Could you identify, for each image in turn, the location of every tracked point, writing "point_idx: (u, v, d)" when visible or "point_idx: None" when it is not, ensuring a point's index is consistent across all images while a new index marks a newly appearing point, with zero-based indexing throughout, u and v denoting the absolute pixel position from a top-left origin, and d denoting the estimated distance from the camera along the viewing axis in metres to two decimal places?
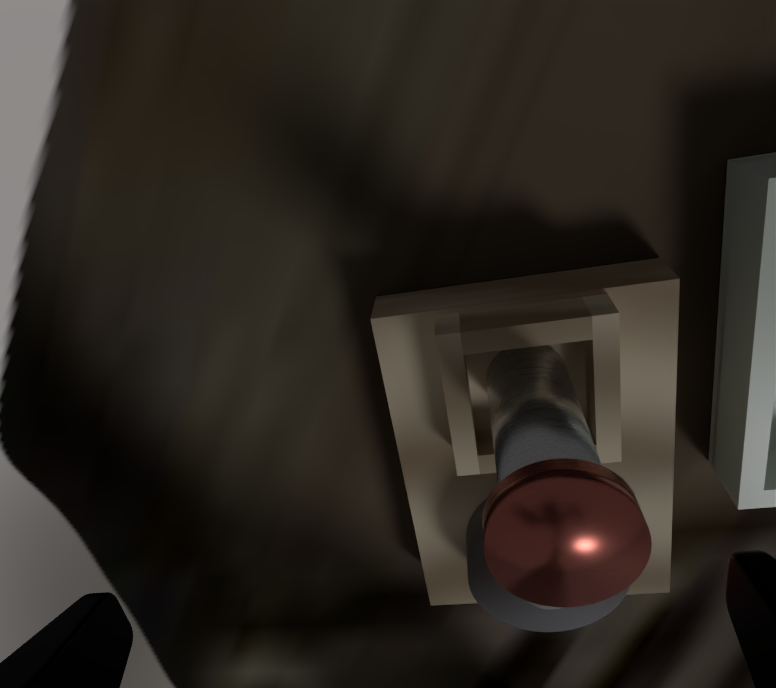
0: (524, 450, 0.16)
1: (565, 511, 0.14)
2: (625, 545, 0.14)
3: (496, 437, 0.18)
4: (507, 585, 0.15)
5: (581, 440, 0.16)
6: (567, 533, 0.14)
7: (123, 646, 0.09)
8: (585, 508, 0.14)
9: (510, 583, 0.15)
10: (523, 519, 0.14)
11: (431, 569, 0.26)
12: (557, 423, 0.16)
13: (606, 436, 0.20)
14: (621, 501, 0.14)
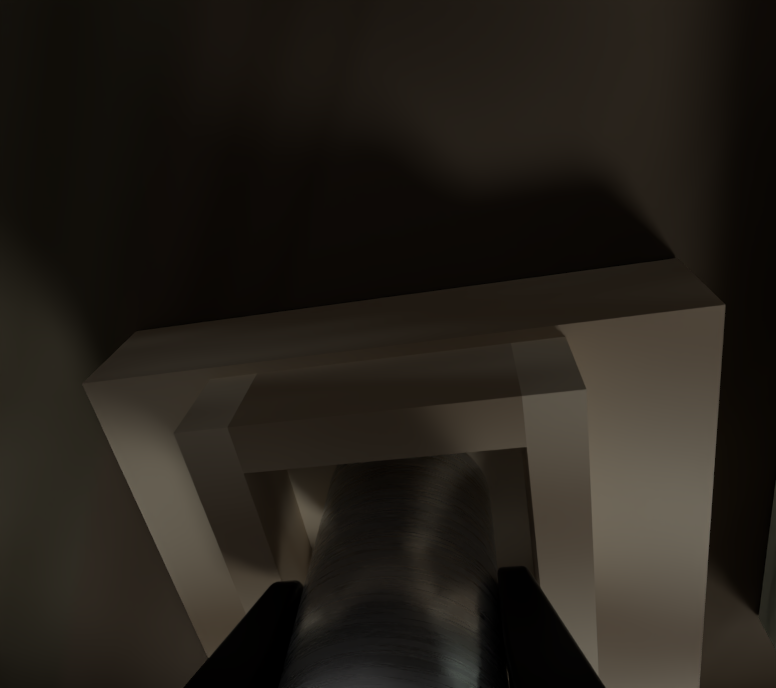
0: None
1: None
2: None
3: None
4: None
5: None
6: None
7: None
8: None
9: None
10: None
11: None
12: None
13: None
14: None
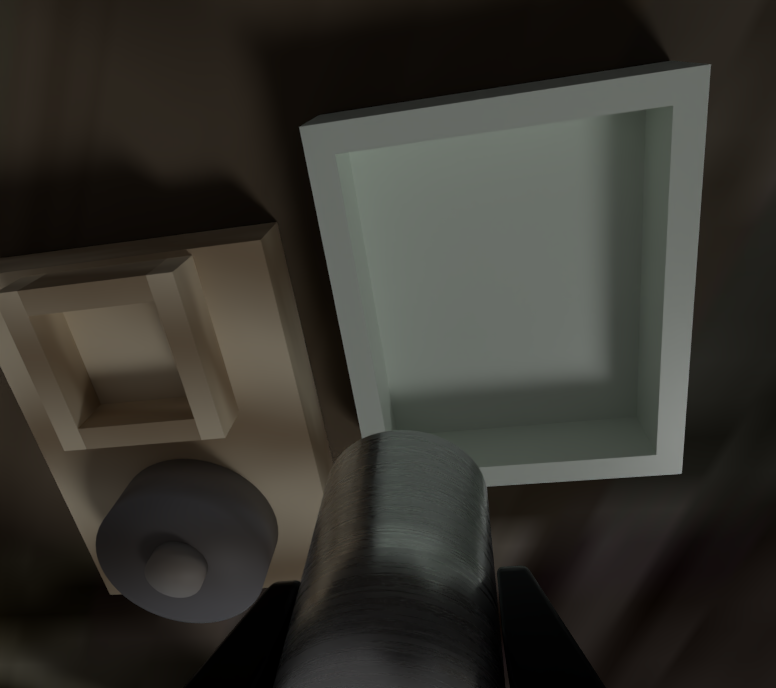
0: None
1: None
2: None
3: None
4: None
5: None
6: None
7: None
8: None
9: None
10: None
11: None
12: None
13: (201, 409, 0.19)
14: None
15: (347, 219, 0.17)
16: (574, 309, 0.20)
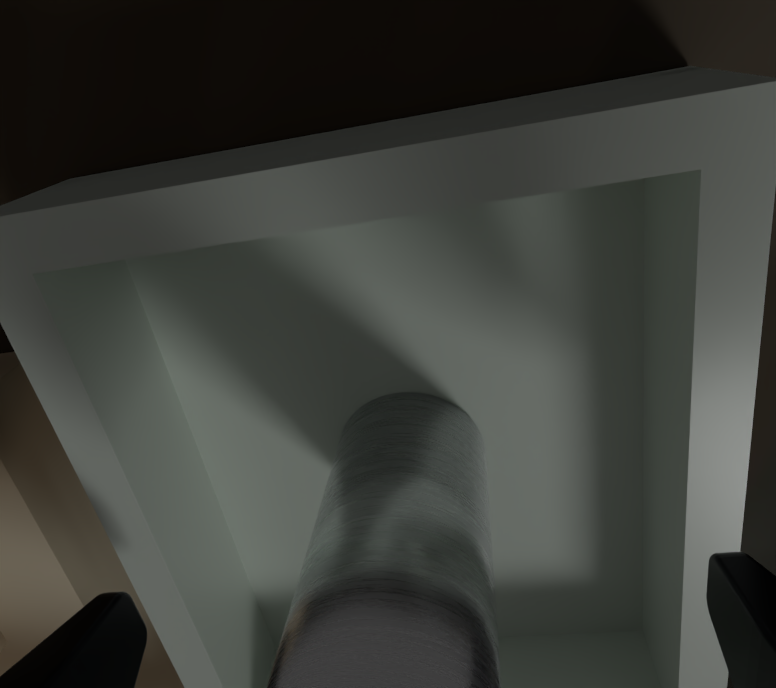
0: None
1: None
2: None
3: (287, 618, 0.08)
4: None
5: (444, 676, 0.06)
6: None
7: (138, 645, 0.09)
8: None
9: None
10: None
11: None
12: (395, 619, 0.07)
13: None
14: None
15: (87, 383, 0.09)
16: (533, 483, 0.12)
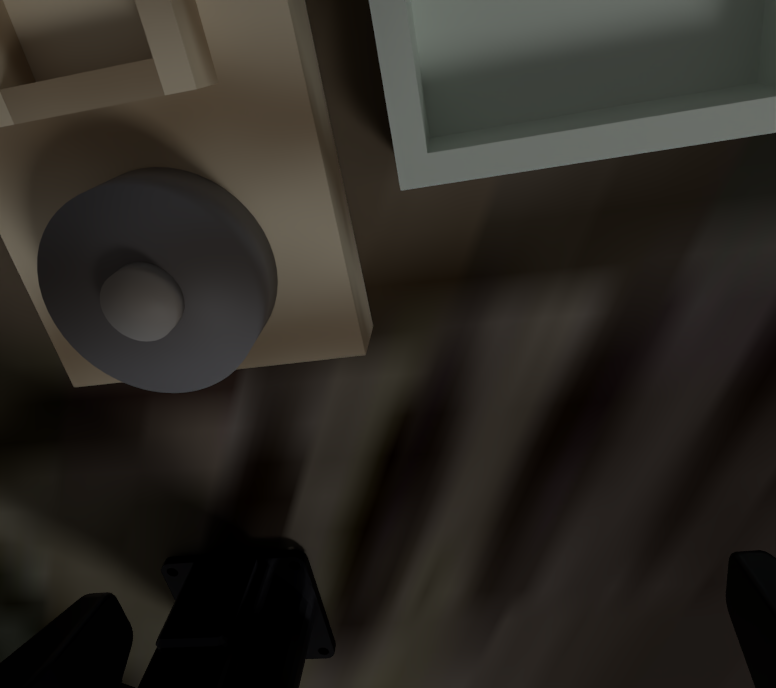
0: None
1: None
2: None
3: None
4: None
5: None
6: None
7: (123, 646, 0.09)
8: None
9: None
10: None
11: (56, 328, 0.19)
12: None
13: (161, 40, 0.14)
14: None
15: None
16: None
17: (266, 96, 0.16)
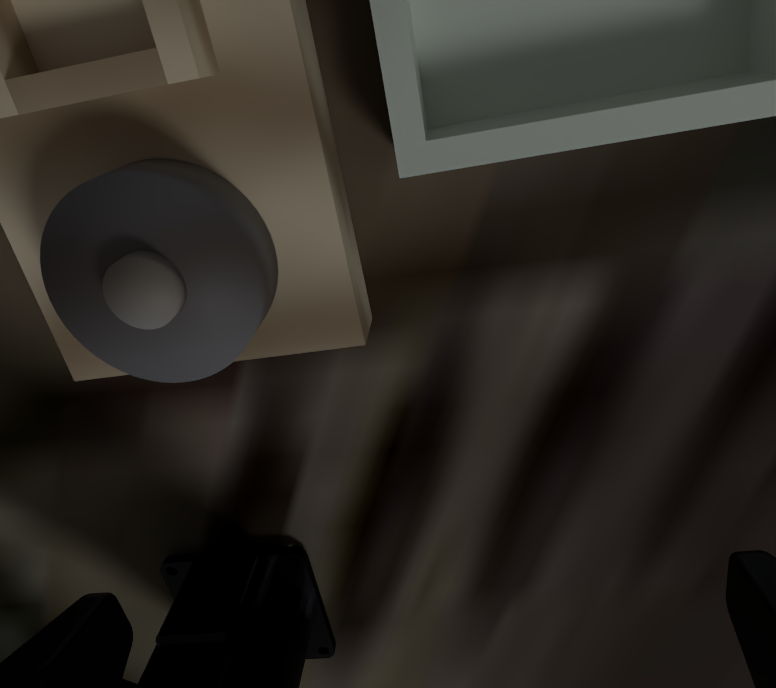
0: None
1: None
2: None
3: None
4: None
5: None
6: None
7: (123, 646, 0.09)
8: None
9: None
10: None
11: (56, 322, 0.20)
12: None
13: (165, 29, 0.14)
14: None
15: None
16: None
17: (267, 87, 0.16)
